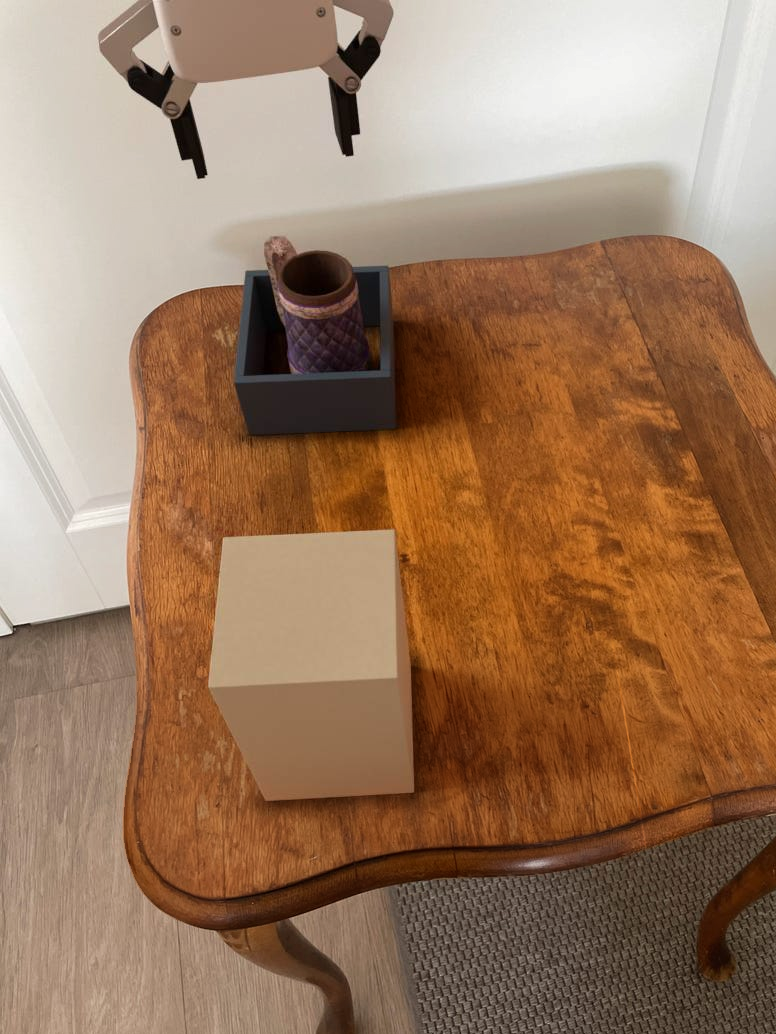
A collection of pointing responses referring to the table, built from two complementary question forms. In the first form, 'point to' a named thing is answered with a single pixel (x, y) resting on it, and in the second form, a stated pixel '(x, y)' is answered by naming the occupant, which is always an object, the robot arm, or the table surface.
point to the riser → (315, 663)
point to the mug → (317, 309)
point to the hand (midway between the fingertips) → (273, 155)
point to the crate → (314, 395)
